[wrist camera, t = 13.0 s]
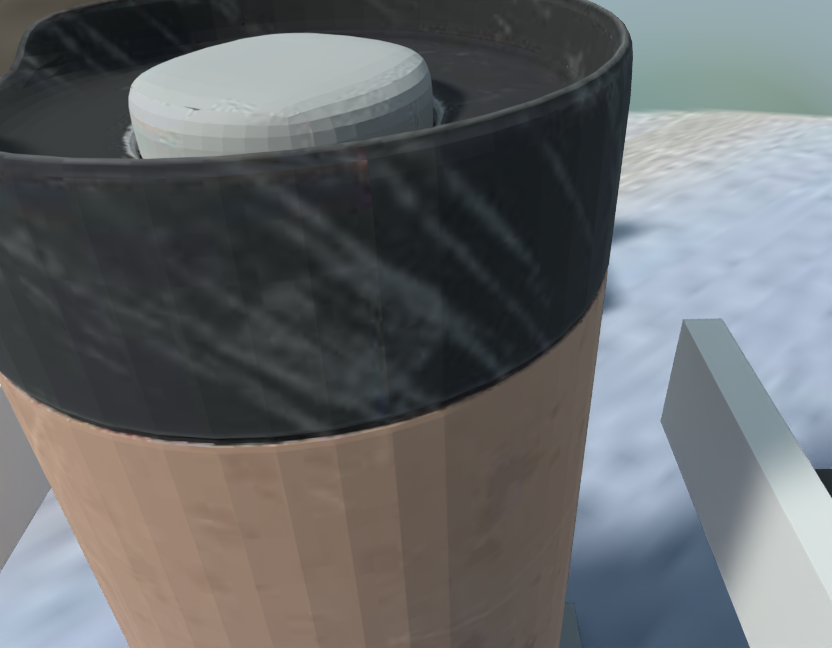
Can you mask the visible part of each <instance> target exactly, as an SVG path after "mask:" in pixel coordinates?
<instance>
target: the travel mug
mask: <svg viewBox="0 0 832 648" xmlns="http://www.w3.org/2000/svg"><path fill="white" fill-rule="evenodd" d="M632 61H633V51H632V40H631V37H630V34H629V32H628V30H627V28H626V26H625V24H624V23H623V22H622V21H621V20H620V19H619V18H618V17H616V16H615V15H614V14H613V13H612V12H610V11H608V10H606V9H604V8H603V7H601V6H599V5H597V4H595V3H593V2H590V1H588V0H101V1H96V2H92V3H87V4H82V5H78V6H74V7H71V8H68V9H64V10H61V11H58V12H54V13H52V14H49V15H47V16H45V17H43V18H41V19H39V20H37V21H35V22H34V23H33V24H32V25H31V26H30V27H29V28H28V29H27V30H26V31H25V32H24V33H23V36H22V38H21V40H20V43H19V46H18V49H17V53H16V57H15V59H14V61H13V63H12V65H11V67H10V69H9V71H8V72H7V73H6V74H4V75H3V76H2V77H1V78H0V384H1V386H2V388H3V390H4V392H5V394H6V396H7V398H8V401H9V403H10V405H11V407H12V409H13V411H14V413H15V415H16V417H17V419H18V421H19V423H20V425H21V427H22V429H23V431H24V433H25V435H26V437H27V439H28V441H29V443H30V445H31V447H32V449H33V451H34V453H35V455H36V457H37V459H38V461H39V463H40V465H41V467H42V470H43V472H44V474H45V476H46V478H47V480H48V482H49V484H50V486H51V488H52V490H53V492H54V494H55V496H56V498H57V500H58V502H59V504H60V506H61V508H62V510H63V512H64V514H65V516H66V518H67V520H68V522H69V524H70V526H71V528H72V530H73V532H74V534H75V536H76V538H77V541H78V543H79V545H80V547H81V549H82V551H83V553H84V555H85V557H86V559H87V561H88V563H89V565H90V567H91V569H92V571H93V573H94V575H95V577H96V579H97V581H98V583H99V585H100V587H101V589H102V591H103V593H104V595H105V597H106V599H107V601H108V603H109V605H110V607H111V610H112V612H113V614H114V616H115V618H116V620H117V622H118V624H119V626H120V628H121V630H122V632H123V634H124V636H125V638H126V640H127V642H128V644H129V646H130V648H559V645H560V637H561V629H562V622H563V614H564V606H565V598H566V591H567V583H568V575H569V567H570V560H571V552H572V544H573V536H574V529H575V521H576V513H577V506H578V498H579V490H580V482H581V475H582V467H583V459H584V451H585V444H586V436H587V428H588V420H589V413H590V405H591V397H592V389H593V382H594V374H595V366H596V358H597V351H598V343H599V335H600V327H601V320H602V312H603V304H604V296H605V289H606V281H607V269H608V265H609V258H610V250H611V243H612V235H613V227H614V219H615V212H616V204H617V196H618V189H619V181H620V173H621V166H622V158H623V150H624V143H625V135H626V127H627V119H628V112H629V104H630V96H631V80H632Z"/></svg>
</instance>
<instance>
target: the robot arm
mask: <svg viewBox="0 0 832 648" xmlns="http://www.w3.org/2000/svg"><path fill="white" fill-rule="evenodd" d="M661 423H662V426H663V428H664V431H665V433H666V436H667V438H668V441H669V444H670V446H671V449H672V451H673V454H674V456H675V459H676V461H677V464H678V466H679V469H680V471H681V474H682V476H683V479H684V482H685V484H686V487H687V489H688V492H689V494H690V497H691V499H692V502H693V504H694V507H695V509H696V512H697V514H698V517H699V520H700V522H701V525H702V527H703V530H704V532H705V535H706V537H707V540H708V542H709V545H710V547H711V550H712V552H713V555H714V558H715V560H716V563H717V565H718V568H719V570H720V573H721V575H722V578H723V580H724V583H725V585H726V588H727V591H728V593H729V596H730V598H731V601H732V603H733V606H734V608H735V611H736V613H737V616H738V618H739V621H740V623H741V626H742V629H743V631H744V634H745V636H746V639H747V641H748V644H749V646H750V648H832V469H814V468H813V467H812V465H811V464H810V462H809V460H808V459H807V457H806V455H805V454H804V452H803V450H802V449H801V447H800V446H799V444H798V442H797V441H796V439H795V437H794V436H793V434H792V432H791V431H790V429H789V428H788V426H787V424H786V423H785V421H784V419H783V418H782V416H781V414H780V413H779V411H778V409H777V408H776V406H775V405H774V403H773V401H772V400H771V398H770V396H769V395H768V393H767V391H766V390H765V388H764V387H763V385H762V383H761V382H760V380H759V378H758V377H757V375H756V373H755V372H754V370H753V369H752V367H751V365H750V364H749V362H748V360H747V359H746V357H745V355H744V354H743V352H742V351H741V349H740V347H739V346H738V344H737V342H736V341H735V339H734V337H733V336H732V334H731V333H730V331H729V329H728V328H727V326H726V324H725V323H724V321H723V319H683V322H682V327H681V331H680V336H679V340H678V345H677V349H676V354H675V358H674V363H673V367H672V372H671V376H670V381H669V385H668V390H667V394H666V399H665V403H664V408H663V413H662V417H661ZM50 488H51V486H50V484H49V482H48V480H47V478H46V476H45V474H44V472H43V470H42V467H41V465H40V463H39V461H38V459H37V457H36V455H35V453H34V451H33V449H32V447H31V445H30V443H29V441H28V439H27V437H26V435H25V433H24V431H23V429H22V427H21V425H20V423H19V421H18V419H17V417H16V415H15V413H14V411H13V409H12V407H11V405H10V403H9V401H8V398H7V396H6V394H5V392H4V390H3V388H2V386H1V384H0V572H1V570H2V569H3V567H4V565H5V564H6V562H7V560H8V558H9V557H10V555H11V553H12V552H13V550H14V548H15V547H16V545H17V543H18V542H19V540H20V538H21V537H22V535H23V533H24V532H25V530H26V528H27V527H28V525H29V523H30V522H31V520H32V518H33V517H34V515H35V513H36V512H37V510H38V508H39V507H40V505H41V503H42V502H43V500H44V498H45V497H46V495H47V493H48V492H49V490H50Z"/></svg>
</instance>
